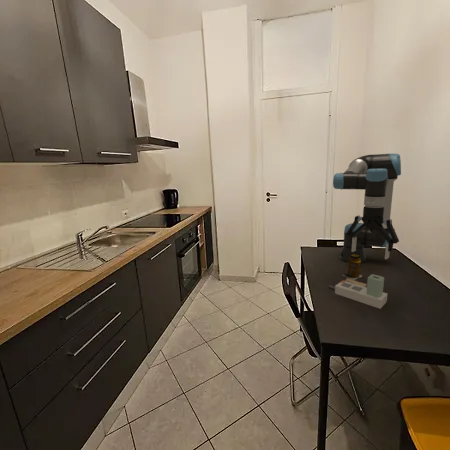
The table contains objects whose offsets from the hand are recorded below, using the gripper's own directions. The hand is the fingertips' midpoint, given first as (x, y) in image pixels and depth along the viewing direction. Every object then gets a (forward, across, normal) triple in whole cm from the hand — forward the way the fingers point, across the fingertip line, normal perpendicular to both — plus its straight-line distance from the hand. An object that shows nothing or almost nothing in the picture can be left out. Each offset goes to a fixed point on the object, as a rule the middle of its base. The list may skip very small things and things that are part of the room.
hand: (369, 254), depth 114 cm
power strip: (+22, -6, +1) cm, 23 cm away
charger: (+20, +3, +2) cm, 20 cm away
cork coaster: (+22, -10, +11) cm, 27 cm away
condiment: (+22, -16, +22) cm, 35 cm away
